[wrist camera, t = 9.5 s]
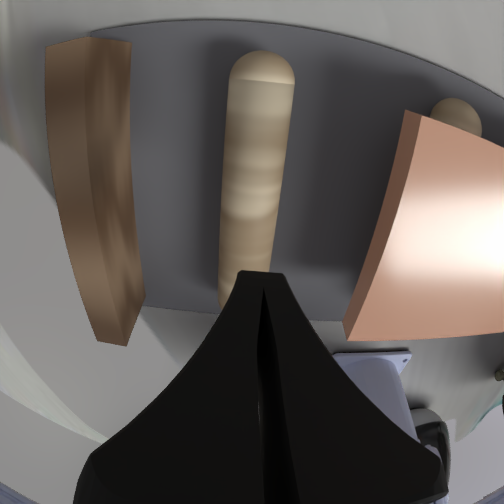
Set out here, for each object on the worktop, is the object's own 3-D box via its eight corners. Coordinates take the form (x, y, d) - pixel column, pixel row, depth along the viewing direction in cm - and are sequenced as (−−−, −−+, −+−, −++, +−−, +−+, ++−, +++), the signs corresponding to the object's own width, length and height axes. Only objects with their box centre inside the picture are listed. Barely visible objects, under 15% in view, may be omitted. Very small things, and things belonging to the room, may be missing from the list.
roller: (263, 301, 20) (259, 332, 18) (221, 295, 20) (213, 326, 18) (296, 56, 12) (299, 51, 10) (237, 50, 12) (226, 45, 10)
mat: (523, 313, 22) (525, 315, 22) (118, 298, 21) (116, 301, 21) (589, 164, 13) (591, 166, 12) (94, 32, 11) (90, 32, 11)
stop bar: (147, 292, 20) (126, 346, 16) (121, 288, 20) (97, 340, 16) (134, 43, 12) (86, 36, 8) (101, 47, 12) (46, 46, 7)
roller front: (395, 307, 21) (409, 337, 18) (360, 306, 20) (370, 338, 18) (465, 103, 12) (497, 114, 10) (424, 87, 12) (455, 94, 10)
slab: (509, 317, 18) (517, 329, 16) (342, 321, 17) (347, 340, 16) (572, 186, 11) (585, 196, 10) (405, 109, 10) (421, 115, 9)
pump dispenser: (381, 438, 37) (395, 523, 24) (362, 421, 32) (378, 527, 20) (441, 412, 34) (464, 497, 21) (435, 389, 29) (466, 495, 17)
